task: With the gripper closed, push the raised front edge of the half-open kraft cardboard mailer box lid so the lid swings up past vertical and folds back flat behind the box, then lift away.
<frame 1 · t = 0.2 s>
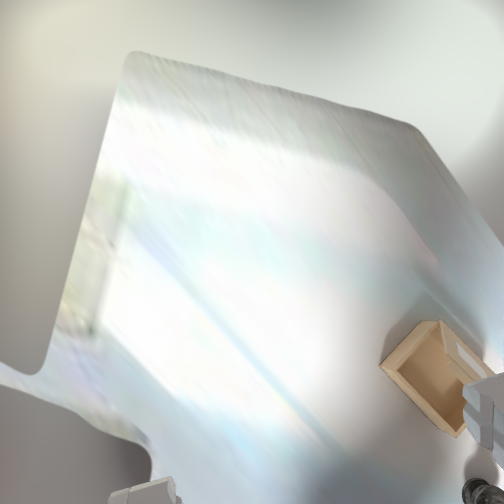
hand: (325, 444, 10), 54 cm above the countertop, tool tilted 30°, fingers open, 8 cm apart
lid: (475, 373, 54), point 10 cm above the countertop, hinge at 55.0°
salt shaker: (476, 494, 61), on the countertop
mailer box: (429, 373, 64), on the countertop
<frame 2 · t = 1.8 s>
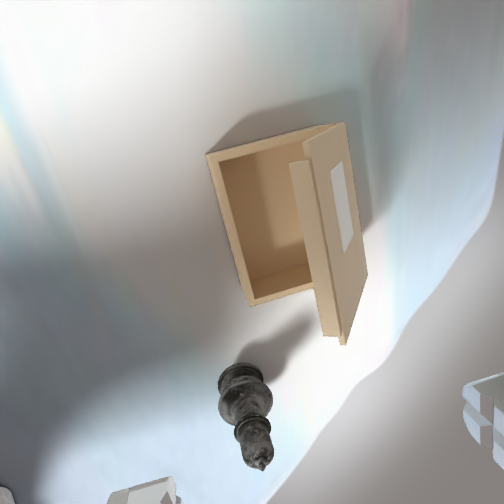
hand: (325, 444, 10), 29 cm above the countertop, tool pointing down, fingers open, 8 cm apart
lid: (337, 225, 28), point 10 cm above the countertop, hinge at 55.0°
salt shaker: (240, 382, 43), on the countertop
mailer box: (276, 209, 37), on the countertop
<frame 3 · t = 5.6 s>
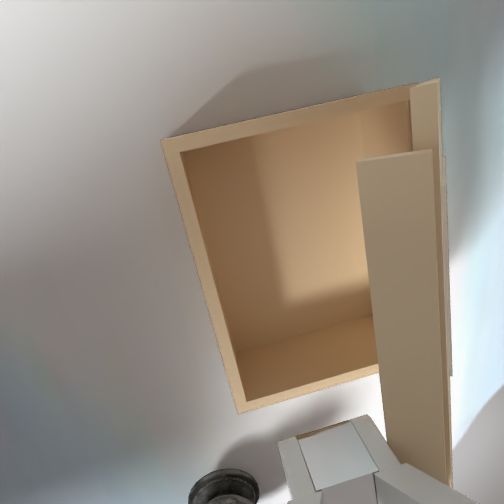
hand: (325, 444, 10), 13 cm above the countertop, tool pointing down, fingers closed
lid: (427, 299, 13), point 10 cm above the countertop, hinge at 55.0°, touching gripper
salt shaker: (223, 494, 28), on the countertop
mailer box: (290, 237, 22), on the countertop
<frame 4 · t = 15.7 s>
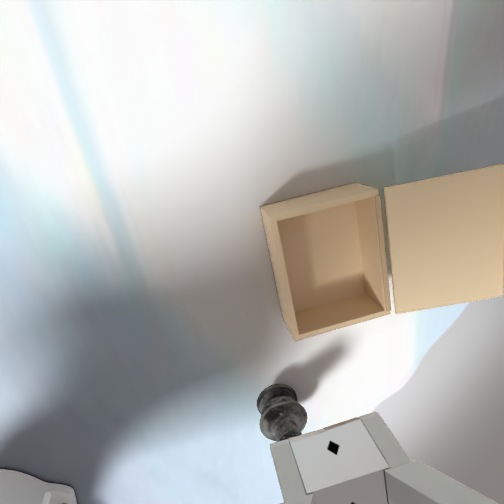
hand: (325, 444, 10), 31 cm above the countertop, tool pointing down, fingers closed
lid: (449, 245, 37), point 7 cm above the countertop, hinge at 168.9°
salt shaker: (276, 400, 48), on the countertop
mailer box: (318, 253, 42), on the countertop
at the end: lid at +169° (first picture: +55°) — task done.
